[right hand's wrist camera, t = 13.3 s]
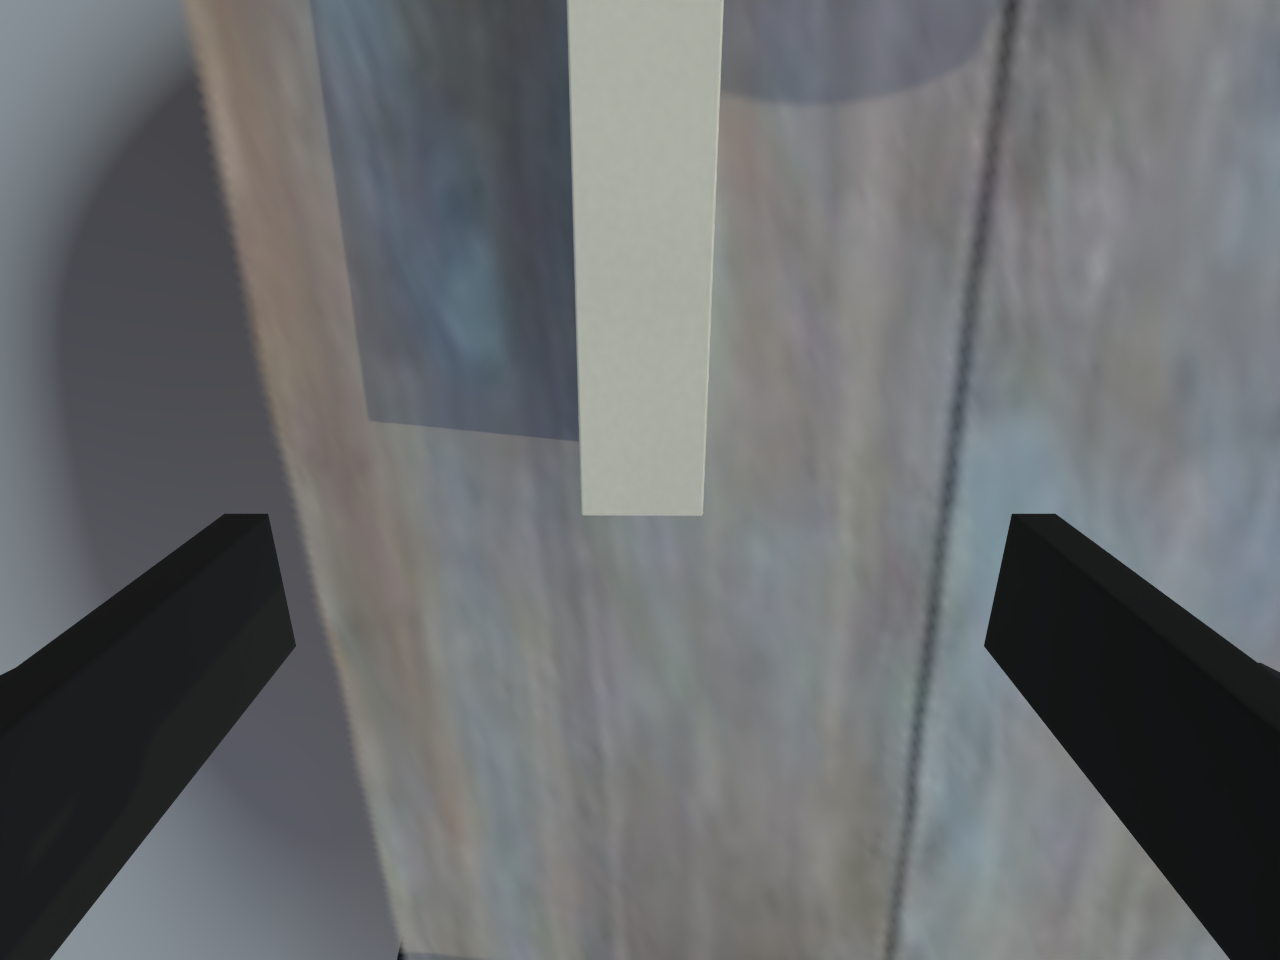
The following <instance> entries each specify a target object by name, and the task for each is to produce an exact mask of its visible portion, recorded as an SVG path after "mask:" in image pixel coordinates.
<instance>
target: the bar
mask: <svg viewBox="0 0 1280 960" xmlns="http://www.w3.org/2000/svg"><path fill="white" fill-rule="evenodd" d="M723 8H724V0H567V35H568V70H569V105H570V140H571V175H572V210H573V246H574V281H575V316H576V351H577V386H578V421H579V456H580V491H581V514H582V515H621V516H702V515H703V501H704V476H705V452H706V427H707V403H708V378H709V353H710V329H711V304H712V279H713V255H714V230H715V205H716V181H717V156H718V132H719V107H720V82H721V58H722V33H723Z"/></svg>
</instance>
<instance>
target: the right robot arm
mask: <svg viewBox="0 0 1280 960" xmlns="http://www.w3.org/2000/svg"><path fill="white" fill-rule="evenodd" d="M295 647H296V644H295V639H294V634H293V630H292V625H291V620H290V615H289V611H288V606H287V601H286V597H285V592H284V587H283V582H282V578H281V573H280V568H279V563H278V559H277V554H276V549H275V545H274V540H273V535H272V530H271V526H270V521H269V516H268V514H224V515H222V516H221V517H220V518H218V519H217V520H216V521H214V522H213V523H212V524H210V525H209V526H207V527H206V528H205V529H203V530H202V531H201V532H199V533H198V534H197V535H195V536H194V537H193V538H191V539H190V540H188V541H187V542H186V543H185V544H183V545H182V546H180V547H179V548H178V549H176V550H175V551H174V552H172V553H171V554H169V555H168V556H167V557H165V558H164V559H163V560H161V561H160V562H159V563H157V564H156V565H155V566H153V567H152V568H151V569H149V570H148V571H146V572H145V573H144V574H142V575H141V576H140V577H138V578H137V579H136V580H134V581H133V582H132V583H130V584H129V585H127V586H126V587H125V588H123V589H122V590H121V591H119V592H118V593H117V594H115V595H114V596H113V597H111V598H110V599H108V600H107V601H106V602H104V603H103V604H102V605H100V606H99V607H98V608H96V609H95V610H94V611H92V612H91V613H89V614H88V615H87V616H85V617H84V618H83V619H81V620H80V621H79V622H77V623H76V624H75V625H73V626H72V627H71V628H69V629H68V630H66V631H65V632H64V633H62V634H61V635H60V636H58V637H57V638H56V639H54V640H53V641H51V642H50V643H49V644H47V645H46V646H45V647H43V648H42V649H41V650H39V651H38V652H37V653H35V654H34V655H32V656H31V657H30V658H28V659H27V660H26V661H24V662H23V663H22V664H20V665H19V666H18V667H16V668H14V669H12V670H10V671H8V672H6V673H4V674H2V675H0V960H50V959H51V957H52V956H53V955H54V954H55V952H56V951H57V950H58V949H59V947H60V946H61V945H62V943H63V942H64V941H65V940H66V938H67V937H68V936H69V935H70V933H71V932H72V931H73V929H74V928H75V927H76V926H77V924H78V923H79V922H80V921H81V919H82V918H83V917H84V915H85V914H86V913H87V912H88V910H89V909H90V908H91V907H92V905H93V904H94V903H95V901H96V900H97V899H98V898H99V896H100V895H101V894H102V892H103V891H104V890H105V889H106V887H107V886H108V885H109V884H110V882H111V881H112V880H113V878H114V877H115V876H116V875H117V873H118V872H119V871H120V870H121V868H122V867H123V866H124V864H125V863H126V862H127V861H128V859H129V858H130V857H131V856H132V854H133V853H134V852H135V850H136V849H137V848H138V847H139V845H140V844H141V843H142V841H143V840H144V839H145V838H146V836H147V835H148V834H149V833H150V831H151V830H152V829H153V827H154V826H155V825H156V824H157V822H158V821H159V820H160V818H161V817H162V816H163V815H164V813H165V812H166V811H167V810H168V808H169V807H170V806H171V805H172V803H173V802H174V801H175V799H176V798H177V797H178V796H179V794H180V793H181V792H182V790H183V789H184V788H185V787H186V785H187V784H188V783H189V782H190V780H191V779H192V778H193V776H194V775H195V774H196V773H197V771H198V770H199V769H200V768H201V766H202V765H203V764H204V763H205V761H206V760H207V759H208V757H209V756H210V755H211V754H212V752H213V751H214V750H215V748H216V747H217V746H218V745H219V743H220V742H221V741H222V740H223V738H224V737H225V736H226V734H227V733H228V732H229V731H230V729H231V728H232V727H233V726H234V724H235V723H236V722H237V720H238V719H239V718H240V717H241V715H242V714H243V713H244V712H245V710H246V709H247V708H248V706H249V705H250V704H251V703H252V701H253V700H254V699H255V698H256V696H257V695H258V694H259V692H260V691H261V690H262V689H263V687H264V686H265V685H266V683H267V682H268V681H269V680H270V678H271V677H272V676H273V675H274V673H275V672H276V671H277V670H278V668H279V667H280V666H281V664H282V663H283V662H284V661H285V659H286V658H287V657H288V655H289V654H290V653H291V652H292V650H293V649H294V648H295ZM984 647H985V648H986V649H987V650H988V652H989V653H990V654H991V655H992V657H993V658H994V659H995V661H996V662H997V663H998V664H999V666H1000V667H1001V668H1002V670H1003V671H1004V672H1005V673H1006V675H1007V676H1008V677H1009V678H1010V680H1011V681H1012V682H1013V684H1014V685H1015V686H1016V687H1017V689H1018V690H1019V691H1020V692H1021V694H1022V695H1023V696H1024V698H1025V699H1026V700H1027V701H1028V703H1029V704H1030V705H1031V706H1032V708H1033V709H1034V710H1035V712H1036V713H1037V714H1038V715H1039V717H1040V718H1041V719H1042V720H1043V722H1044V723H1045V724H1046V726H1047V727H1048V728H1049V729H1050V731H1051V732H1052V733H1053V734H1054V736H1055V737H1056V738H1057V740H1058V741H1059V742H1060V743H1061V745H1062V746H1063V747H1064V749H1065V750H1066V751H1067V752H1068V754H1069V755H1070V756H1071V757H1072V759H1073V760H1074V761H1075V763H1076V764H1077V765H1078V766H1079V768H1080V769H1081V770H1082V771H1083V773H1084V774H1085V775H1086V777H1087V778H1088V779H1089V780H1090V782H1091V783H1092V784H1093V785H1094V787H1095V788H1096V789H1097V791H1098V792H1099V793H1100V794H1101V796H1102V797H1103V798H1104V799H1105V801H1106V802H1107V803H1108V805H1109V806H1110V807H1111V808H1112V810H1113V811H1114V812H1115V813H1116V815H1117V816H1118V817H1119V819H1120V820H1121V821H1122V822H1123V824H1124V825H1125V826H1126V828H1127V829H1128V830H1129V831H1130V833H1131V834H1132V835H1133V836H1134V838H1135V839H1136V840H1137V842H1138V843H1139V844H1140V845H1141V847H1142V848H1143V849H1144V850H1145V852H1146V853H1147V854H1148V856H1149V857H1150V858H1151V859H1152V861H1153V862H1154V863H1155V864H1156V866H1157V867H1158V868H1159V870H1160V871H1161V872H1162V873H1163V875H1164V876H1165V877H1166V878H1167V880H1168V881H1169V882H1170V884H1171V885H1172V886H1173V887H1174V889H1175V890H1176V891H1177V892H1178V894H1179V895H1180V896H1181V898H1182V899H1183V900H1184V901H1185V903H1186V904H1187V905H1188V907H1189V908H1190V909H1191V910H1192V912H1193V913H1194V914H1195V915H1196V917H1197V918H1198V919H1199V921H1200V922H1201V923H1202V924H1203V926H1204V927H1205V928H1206V929H1207V931H1208V932H1209V933H1210V935H1211V936H1212V937H1213V938H1214V940H1215V941H1216V942H1217V943H1218V945H1219V946H1220V947H1221V949H1222V950H1223V951H1224V952H1225V954H1226V955H1227V956H1228V957H1229V959H1230V960H1280V672H1278V671H1276V670H1274V669H1272V668H1270V667H1268V666H1266V665H1264V664H1262V663H1257V662H1256V661H1254V660H1253V659H1252V658H1250V657H1249V656H1248V655H1246V654H1245V653H1243V652H1242V651H1241V650H1239V649H1238V648H1237V647H1235V646H1234V645H1233V644H1231V643H1230V642H1229V641H1227V640H1226V639H1224V638H1223V637H1222V636H1220V635H1219V634H1218V633H1216V632H1215V631H1214V630H1212V629H1211V628H1210V627H1208V626H1207V625H1205V624H1204V623H1203V622H1201V621H1200V620H1199V619H1197V618H1196V617H1195V616H1193V615H1192V614H1191V613H1189V612H1188V611H1186V610H1185V609H1184V608H1182V607H1181V606H1180V605H1178V604H1177V603H1176V602H1174V601H1173V600H1172V599H1170V598H1169V597H1167V596H1166V595H1165V594H1163V593H1162V592H1161V591H1159V590H1158V589H1157V588H1155V587H1154V586H1153V585H1151V584H1150V583H1148V582H1147V581H1146V580H1144V579H1143V578H1142V577H1140V576H1139V575H1138V574H1136V573H1135V572H1134V571H1132V570H1131V569H1130V568H1128V567H1127V566H1125V565H1124V564H1123V563H1121V562H1120V561H1119V560H1117V559H1116V558H1115V557H1113V556H1112V555H1111V554H1109V553H1108V552H1106V551H1105V550H1104V549H1102V548H1101V547H1100V546H1098V545H1097V544H1096V543H1094V542H1093V541H1092V540H1090V539H1089V538H1087V537H1086V536H1085V535H1083V534H1082V533H1081V532H1079V531H1078V530H1077V529H1075V528H1074V527H1073V526H1071V525H1070V524H1068V523H1067V522H1066V521H1064V520H1063V519H1062V518H1060V517H1059V516H1058V515H1056V514H1012V516H1011V521H1010V526H1009V530H1008V535H1007V540H1006V545H1005V549H1004V554H1003V559H1002V563H1001V568H1000V573H999V578H998V582H997V587H996V592H995V597H994V601H993V606H992V611H991V615H990V620H989V625H988V630H987V634H986V639H985V644H984ZM397 960H406V956H405V954H404V950H403V948H402V943H401V944H400V948H399V952H398V956H397Z"/></svg>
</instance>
